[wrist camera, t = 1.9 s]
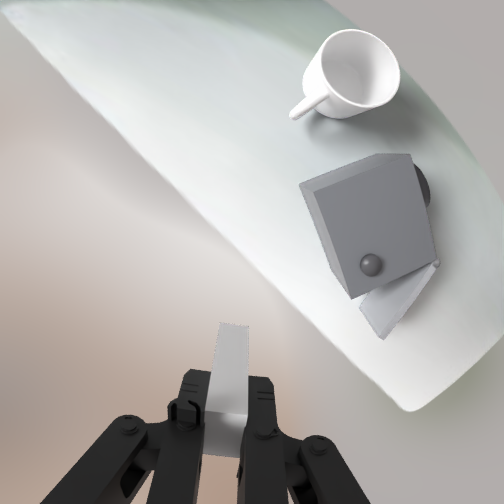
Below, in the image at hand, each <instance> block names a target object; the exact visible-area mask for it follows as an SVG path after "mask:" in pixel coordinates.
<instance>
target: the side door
mask: <svg viewBox="0 0 504 504" xmlns="http://www.w3.org/2000/svg"><path fill="white" fill-rule="evenodd" d="M439 265H440V259H438V258H437V259H436V260H434V261H432V262H430V263H428V264H426V265H424V266H422V267H420V268H418V269H416V270H414V271H412V272H410V273H408V274H406V275H404V276H402V277H400V278H397V279H395V280H393V281H391V282H389V283H387V284H385V285H383V286H380V287H378V288H376V289H374V290H372V291H370V293H369V294H368V295H367V297H366V298H365V299H364V301H363V302H362V304H361V305H360V306H359V309H360V310H361V312H362V313H363V315H364V316H365V318H366V319H367V321H368V322H369V324H370V325H371V327H372V328H373V330H374V331H375V333H376V334H377V336H378V337H379V338H381V339H382V340H384V339H385V338H386V337H387V336H388V334H389V333H390V332H391V331H392V329H393V328H394V327H395V326H396V324H397V323H398V322H399V320H400V319H401V318H402V317H403V315H404V314H405V313H406V311H407V310H408V309H409V307H410V306H411V305H412V303H413V302H414V301H415V299H416V298H417V296H418V295H419V294H420V292H421V291H422V289H423V288H424V286H425V285H426V284H427V282H428V281H429V279H430V278H431V276H432V275H433V273H434V272H435V270H436V269H437V268H438V267H439Z"/></svg>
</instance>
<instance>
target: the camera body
mask: <svg viewBox="0 0 504 504" xmlns="http://www.w3.org/2000/svg"><path fill="white" fill-rule="evenodd" d="M299 187H300V189H301V192H302V194H303V197H304V199H305V202H306V204H307V207H308V209H309V212H310V214H311V217H312V219H313V222H314V225H315V227H316V230H317V232H318V235H319V238H320V240H321V243H322V246H323V248H324V251H325V254H326V257H327V259H328V262H329V265H330V268H331V270H332V272H333V273H334V275H335V276H336V278H337V279H338V281H339V282H340V284H341V285H342V286H343V288H344V289H345V291H346V292H347V294H348V295H349V297H350V298H351V300H352V299H354V298H356V297H358V296H361V295H363V294H365V293H367V292H369V291H372V290H374V289H376V288H378V287H380V286H383V285H385V284H387V283H389V282H391V281H393V280H395V279H397V278H400V277H402V276H404V275H406V274H408V273H410V272H412V271H414V270H416V269H418V268H420V267H422V266H424V265H426V264H428V263H430V262H432V261H434V260H436V259H437V257H436V252H435V247H434V242H433V237H432V232H431V228H430V223H429V219H428V215H427V211H426V207H427V206H428V205H429V203H430V190H429V186H428V183H427V181H426V178H425V177H424V175H423V173H422V172H421V170H420V169H419V168H418V167H417V166H416V165H415V164H413V161H412V158H411V155H410V154H374V155H372V156H369V157H366V158H364V159H361V160H359V161H356V162H353V163H351V164H348V165H346V166H343V167H340V168H338V169H335V170H333V171H330V172H328V173H325V174H323V175H320V176H318V177H315V178H313V179H310V180H308V181H305V182H303V183H300V184H299Z"/></svg>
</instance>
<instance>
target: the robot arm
mask: <svg viewBox="0 0 504 504" xmlns="http://www.w3.org/2000/svg"><path fill="white" fill-rule="evenodd" d="M248 329H249V326H244V325H235V324H227V323H220V326H219V331H218V337H217V342H216V349H215V354H214V360H213V365H212V371H211V372H208V371H201V370H195V369H190V370H189V371H188V372H187V373H186V374H185V375H184V377H183V381H182V384H181V388H180V391H179V395H178V398H176V399H174V400H172V401H171V402H170V403H169V405H168V407H167V408H168V419H167V420H166V421H163V422H160V423H145V422H144V421H143V420H142V419H141V418H139V417H137V416H134V415H123V416H120V417H118V418H116V419H115V420H114V421H113V422H112V423H111V424H110V425H109V426H108V428H107V429H106V430H105V431H104V432H103V433H102V434H101V436H100V437H99V438H98V439H97V440H96V441H95V442H94V443H93V445H92V446H91V447H90V448H89V449H88V450H87V451H86V452H85V454H84V455H83V456H82V457H81V458H80V459H79V460H78V462H77V463H76V464H75V465H74V466H73V467H72V468H71V470H70V471H69V472H68V473H67V474H66V475H65V476H64V477H63V478H62V480H61V481H60V482H59V483H58V484H57V485H56V486H55V488H54V489H53V490H52V491H51V492H50V493H49V494H48V495H47V496H46V498H45V499H44V500H43V501H42V502H41V503H40V504H130V503H131V502H132V500H133V499H134V497H135V496H136V494H137V492H138V491H139V489H140V488H141V486H142V485H143V483H144V482H145V480H146V479H147V477H148V476H149V474H150V473H151V470H155V471H154V476H153V479H152V483H151V487H150V491H149V495H148V498H147V502H146V504H196V503H197V496H198V488H199V480H200V473H201V465H202V454H208V455H216V456H225V457H235V458H240V464H239V468H238V473H237V478H238V492H237V504H289V502H288V493H287V488H288V490H289V493H290V495H291V497H292V500H293V502H294V504H370V502H369V500H368V499H367V497H366V495H365V494H364V492H363V490H362V489H361V487H360V486H359V484H358V482H357V481H356V479H355V477H354V476H353V474H352V472H351V471H350V469H349V468H348V466H347V464H346V463H345V461H344V459H343V458H342V456H341V454H340V453H339V451H338V450H337V448H336V446H335V444H334V443H333V442H332V441H331V440H330V439H328V438H326V437H324V436H319V435H313V436H310V437H307V438H305V439H304V440H303V441H302V440H298V439H295V438H292V437H289V436H287V435H286V434H284V433H283V432H282V431H281V430H280V429H279V427H278V424H277V416H276V406H275V396H274V386H273V384H272V382H271V381H270V379H269V378H268V377H257V376H248V339H249V338H248V335H249V330H248Z"/></svg>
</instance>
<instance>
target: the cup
mask: <svg viewBox="0 0 504 504" xmlns="http://www.w3.org/2000/svg"><path fill="white" fill-rule="evenodd" d="M399 84H400V69H399V65H398V62H397V59H396V57H395V56H394V54H393V52H392V51H391V49H390V48H389V47H388V46H387V45H386V44H385V43H384V42H383V41H382V40H380V39H379V38H378V37H376V36H374V35H372V34H370V33H367V32H365V31H361V30H356V29H347V30H341V31H338V32H336V33H334V34H332V35H331V36H329V37H328V38H327V39H326V40H325V42H324V43H323V44H322V46H321V47H320V49H319V50H318V52H317V53H316V55H315V56H314V58H313V59H312V61H311V62H310V64H309V65H308V67H307V69H306V71H305V73H304V76H303V91H304V94H305V97H306V98H305V99H304V100H303V101H302V102H300V103H299V104H298V105H297V106H296V107H295V108H294V109H293V110H292V111H291V112H290V114H289V117H290V118H291V119H292V120H297V119H299V118H300V117H302V116H303V115H305V114H306V113H308V112H309V111H311V110H312V109H315V110H317V111H318V112H319V113H321V114H323V115H325V116H328V117H331V118H339V119H341V118H348V117H351V116H354V115H357V114H359V113H362V112H365V111H368V110H370V109H373V108H376V107H379V106H382V105H384V104H386V103H387V102H389V101H390V100H391V99H392V98H393V97H394V95H395V94H396V92H397V90H398V88H399Z"/></svg>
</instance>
